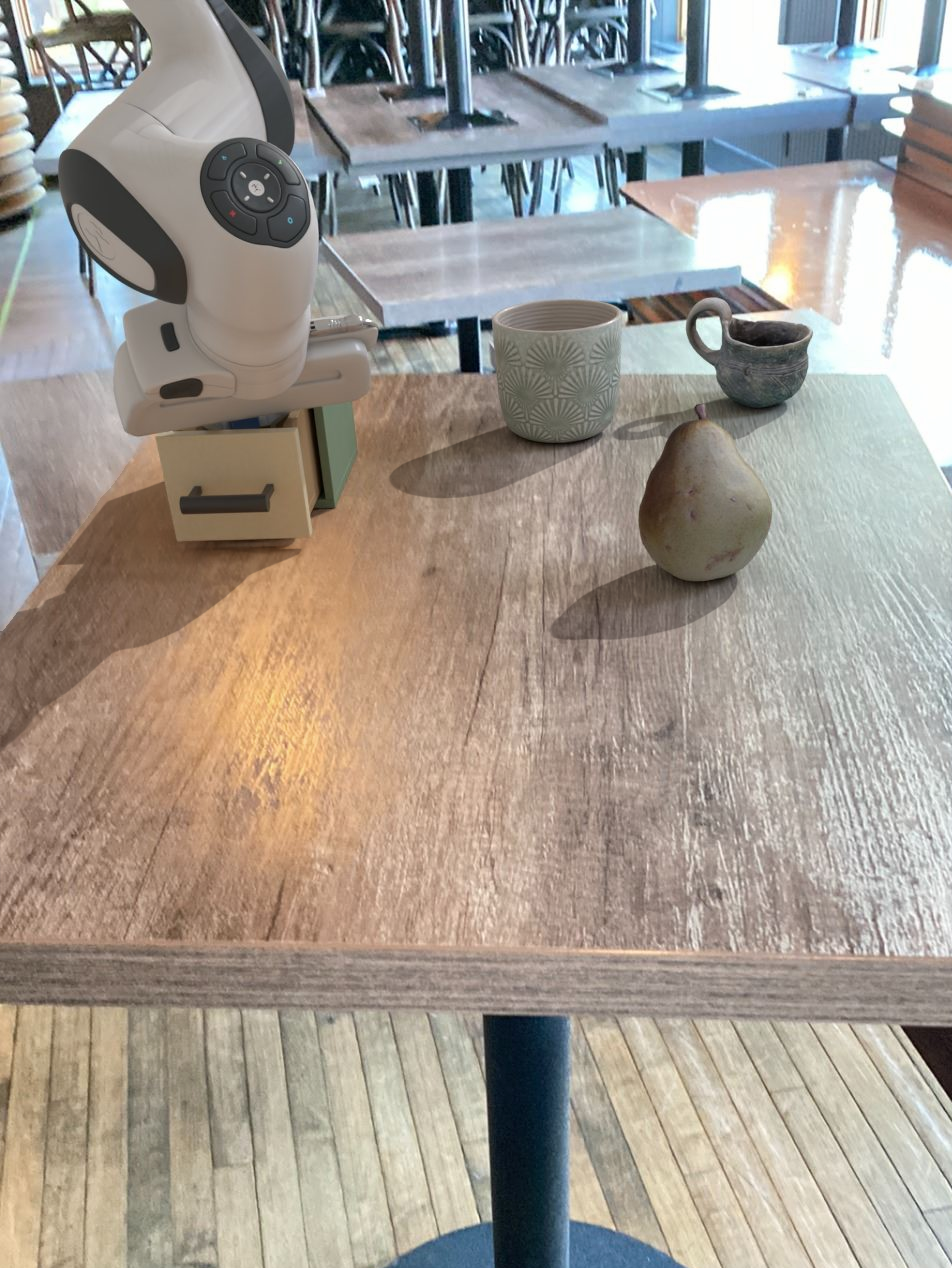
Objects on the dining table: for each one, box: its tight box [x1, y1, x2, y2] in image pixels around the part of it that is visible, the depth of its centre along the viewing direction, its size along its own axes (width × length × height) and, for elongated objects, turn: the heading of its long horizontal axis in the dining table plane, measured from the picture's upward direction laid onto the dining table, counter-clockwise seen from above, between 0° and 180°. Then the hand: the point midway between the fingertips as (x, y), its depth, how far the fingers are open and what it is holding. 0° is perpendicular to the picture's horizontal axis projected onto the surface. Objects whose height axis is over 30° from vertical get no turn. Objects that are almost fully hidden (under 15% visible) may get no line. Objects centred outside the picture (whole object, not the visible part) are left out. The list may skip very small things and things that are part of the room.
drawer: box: [155, 408, 324, 542], centre depth 112 cm, size 18×11×9 cm, turn 177°
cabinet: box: [313, 401, 359, 509], centre depth 121 cm, size 15×13×11 cm
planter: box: [491, 298, 623, 444], centre depth 129 cm, size 12×12×11 cm
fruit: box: [637, 403, 773, 582], centre depth 100 cm, size 10×9×12 cm
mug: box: [685, 297, 814, 408], centre depth 133 cm, size 10×12×10 cm
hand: (242, 430), depth 112 cm, fingers closed on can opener, 2 cm apart
